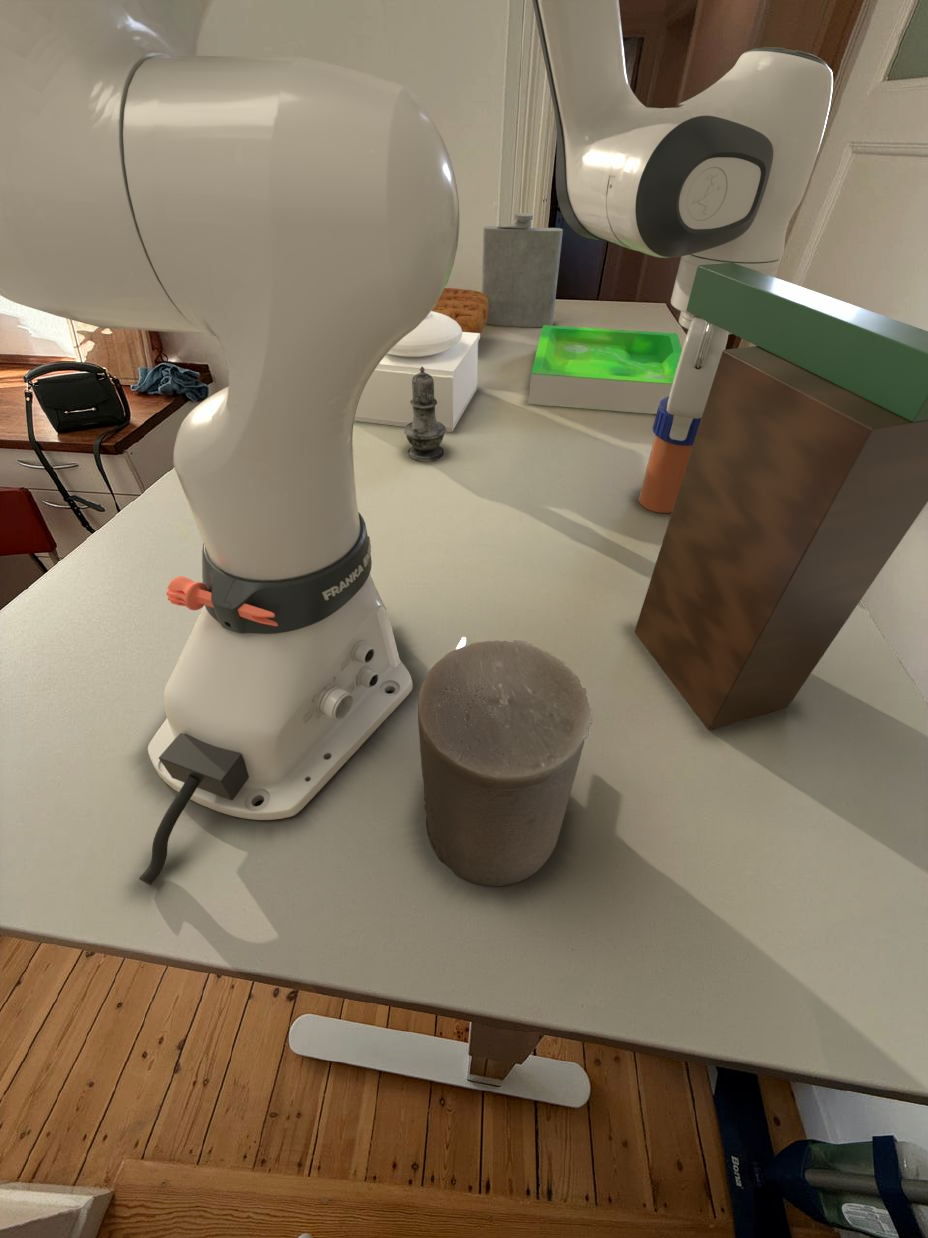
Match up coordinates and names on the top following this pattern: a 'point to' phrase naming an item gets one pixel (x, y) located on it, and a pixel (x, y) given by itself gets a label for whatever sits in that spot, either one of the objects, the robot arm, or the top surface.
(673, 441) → the jar lid
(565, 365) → the tray
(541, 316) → the hip flask
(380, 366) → the butter dish
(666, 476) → the jar
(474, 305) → the clay tablet
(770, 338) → the rod
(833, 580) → the stand
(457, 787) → the pillar candle
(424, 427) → the salt shaker
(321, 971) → the top surface
